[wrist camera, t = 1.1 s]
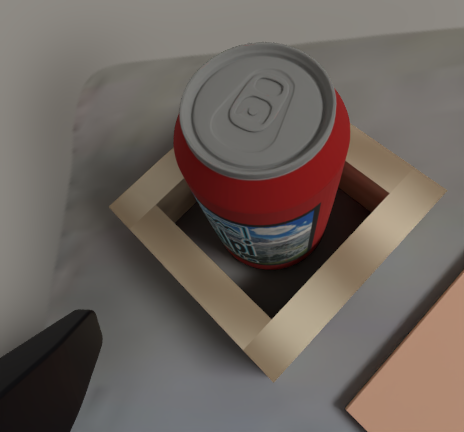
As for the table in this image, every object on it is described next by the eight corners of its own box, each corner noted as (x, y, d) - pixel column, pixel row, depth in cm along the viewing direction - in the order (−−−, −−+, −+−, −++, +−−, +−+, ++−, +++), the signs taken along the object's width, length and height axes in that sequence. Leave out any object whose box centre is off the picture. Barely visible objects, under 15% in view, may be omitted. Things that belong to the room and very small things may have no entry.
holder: (275, 378, 21) (273, 382, 18) (131, 225, 25) (108, 206, 22) (424, 213, 23) (447, 190, 20) (267, 98, 27) (264, 64, 24)
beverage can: (198, 241, 24) (121, 143, 13) (251, 156, 26) (222, 5, 15) (293, 293, 22) (298, 233, 11) (344, 199, 24) (393, 62, 13)
